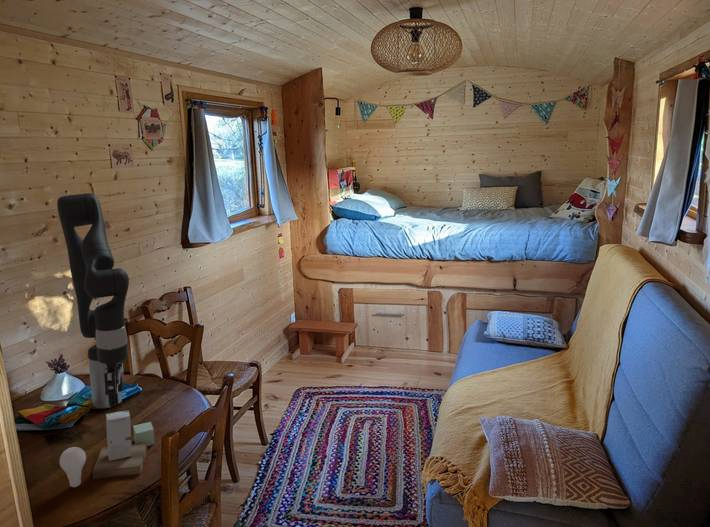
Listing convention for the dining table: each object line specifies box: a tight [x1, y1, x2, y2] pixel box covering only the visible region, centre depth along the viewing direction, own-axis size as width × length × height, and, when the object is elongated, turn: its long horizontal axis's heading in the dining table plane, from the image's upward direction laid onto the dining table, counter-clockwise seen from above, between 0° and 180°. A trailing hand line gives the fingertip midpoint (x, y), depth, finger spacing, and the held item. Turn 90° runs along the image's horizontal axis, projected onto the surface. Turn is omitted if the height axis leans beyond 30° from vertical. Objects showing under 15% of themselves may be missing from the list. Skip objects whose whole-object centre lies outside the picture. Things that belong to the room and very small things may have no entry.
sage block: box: [132, 421, 155, 447], centre depth 161 cm, size 5×5×5 cm
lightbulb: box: [58, 446, 87, 488], centre depth 139 cm, size 6×6×11 cm
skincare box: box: [105, 410, 132, 461], centre depth 149 cm, size 6×4×12 cm
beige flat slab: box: [92, 442, 148, 480], centre depth 151 cm, size 12×12×3 cm
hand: (116, 398), depth 146 cm, fingers open, 8 cm apart
